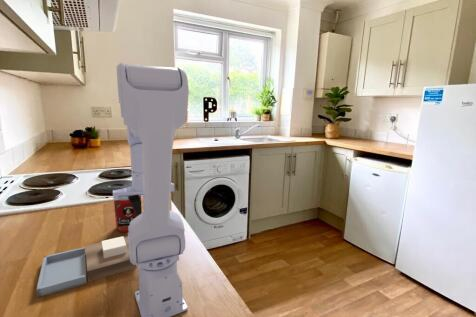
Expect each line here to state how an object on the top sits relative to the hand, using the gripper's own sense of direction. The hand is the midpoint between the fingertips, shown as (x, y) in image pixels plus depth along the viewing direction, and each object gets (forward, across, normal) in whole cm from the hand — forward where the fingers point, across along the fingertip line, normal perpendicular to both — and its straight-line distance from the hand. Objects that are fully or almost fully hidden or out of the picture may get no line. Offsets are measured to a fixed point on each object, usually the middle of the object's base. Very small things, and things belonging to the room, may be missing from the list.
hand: (146, 221), depth 66 cm
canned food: (+9, +2, -17) cm, 19 cm away
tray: (+8, +18, 0) cm, 20 cm away
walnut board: (+8, +9, 0) cm, 12 cm away
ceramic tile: (+6, +8, 0) cm, 10 cm away
